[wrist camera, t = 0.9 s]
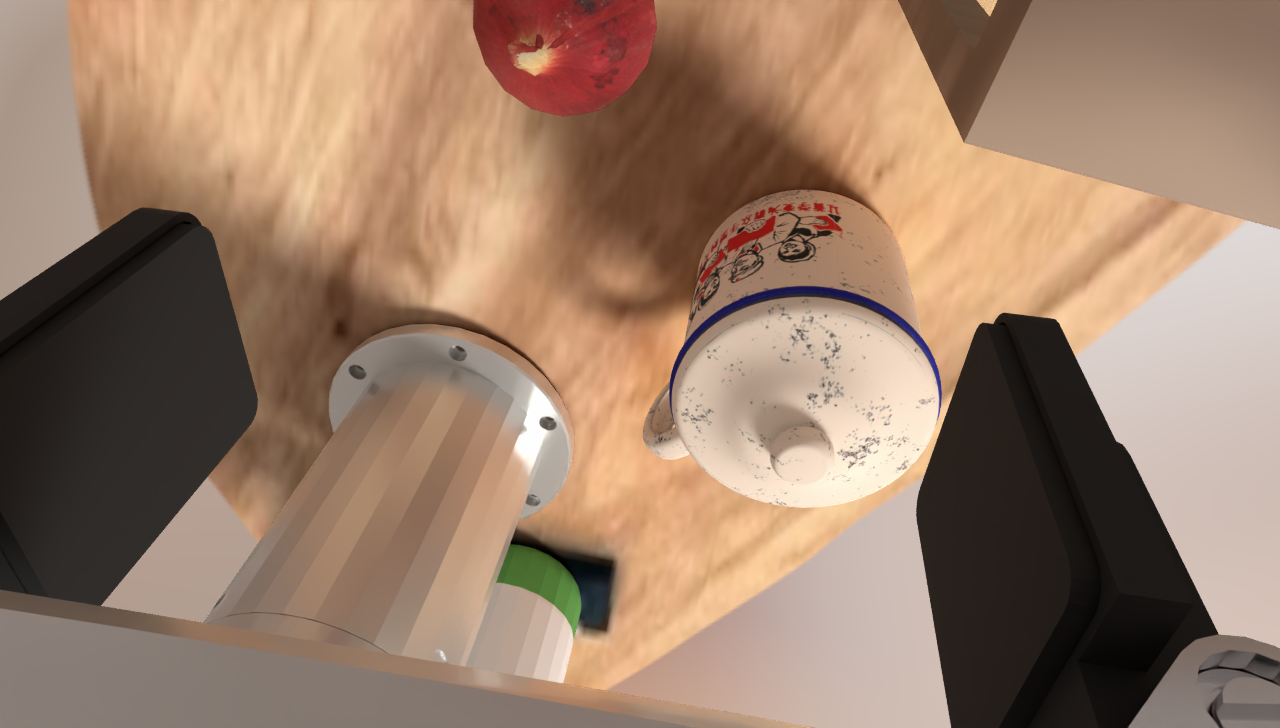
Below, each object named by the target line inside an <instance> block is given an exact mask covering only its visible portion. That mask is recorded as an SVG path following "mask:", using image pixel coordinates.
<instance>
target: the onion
mask: <svg viewBox="0 0 1280 728" xmlns="http://www.w3.org/2000/svg"><path fill="white" fill-rule="evenodd" d="M656 28H657V27H656V14H655V5H654V0H474V10H473V29H474V32H475V35H476V38H477V41H478V44H479V47H480V50H481V53H482V56H483V59H484V62H485V64H486V66H487V67H488V68H489V70H490V71H491V73H492V74H493V75H494V77H495V78H496V79H497V81H498V82H499V83H500V85H501V86H502V87H503V89H504V90H505V91H506V92H508V93H509V94H511V95H512V96H514V97H515V98H517V99H518V100H520V101H521V102H523V103H524V104H526V105H527V106H529V107H530V108H531V109H535V110H539V111H543V112H547V113H551V114H555V115H559V116H563V117H564V116H570V115H576V114H582V113H588V112H594V111H598V110H600V109H601V108H603V107H605V106H606V105H608V104H609V103H611V102H612V101H614V100H615V99H617V98H618V97H620V96H621V95H623V94H624V93H625V92H626V91H627V90H628V89H629V88H630V87H631V85H632V84H633V83H634V81H635V80H636V79H637V77H638V76H639V75H640V73H641V72H642V71H643V70H644V68H645V67H646V66H647V64H648V61H649V57H650V53H651V49H652V45H653V41H654V37H655V33H656Z"/></svg>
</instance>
